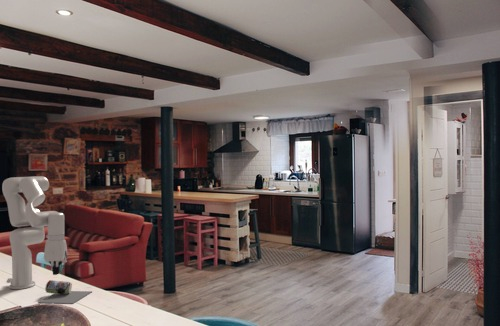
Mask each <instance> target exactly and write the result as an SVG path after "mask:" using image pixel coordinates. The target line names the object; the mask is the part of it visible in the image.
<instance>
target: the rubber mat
mask: <svg viewBox="0 0 500 326" xmlns="http://www.w3.org/2000/svg"><path fill="white" fill-rule="evenodd" d="M92 293H93V291H90V290H89V291H86V290H83V291H81V290H71V292H70V293H68V294H57V293H52V294H51V295H49V296H47V297H45V298H43V299H42V300H40V301H37V304H52V303H54V304H60V305H61V304H62V305H63V304H65V305H66V304H67V305H74V304H75V303H77V302H79V301H80V300H82V299H84V298H85V297H87V296H88V295H90V294H92Z"/></svg>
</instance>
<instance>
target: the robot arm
mask: <svg viewBox="0 0 500 326" xmlns="http://www.w3.org/2000/svg"><path fill="white" fill-rule="evenodd" d="M1 185H2V186H1V187H2V188H1V189H2V194H3V197H4V198H5V201H6V204H7V209H8V210H7V211H8V217H9V222H10V224H11V226H12V227H16V228H17V227H23V228H17V229H14V230H12V231H10V234H9V243H10V249H11V272H12V273H11V275H12V277H11V278H7V279H6V282H5V283H7V284H9V283H10V285H8V287H9V289H11V290H23V289H28V288H29V289H30V288H32V287H34V286H35V285H36V282H35V280H33V259H32V258H33V257H32V256H33V254H32V251H31V249H30V248H28V246H30V245H36V244H41V243H42V242H44V240H45V238H46V241H45V245H44V251H43V252H44V254H43V257H44V258H43V260H45V263H48V264H49V265H51V267H52V275H53V276H56V275H59V274H60V272H61V265H63V264H66V263H67V262H68V260H67V259H68V247H67V246H68V245H67V241H66V239H65V214H64V213H63V212H58V211H56V210H47V211H40V209H38V208H37V207H38V206H39V205H41V204H42V203H43V202H44V201H45V199H46V195H45V193H44V192H46V191H48V190H49V189H50V188H49V187H50V182H49V180H48V178H47V177H45V176H44V175H39V176H38V175H36V176H35V175H33V176H16V177H15V176H14V177H9V178H6V179H4V180H3V182H2V184H1ZM19 193H23V196H24V197H25V198H26V201H27V203H26V201H25V199H24V197H22V195H20V194H19ZM27 226H30V227H27ZM45 227H47V234H46V235H45Z"/></svg>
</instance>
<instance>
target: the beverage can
mask: <svg viewBox="0 0 500 326" xmlns="http://www.w3.org/2000/svg"><path fill="white" fill-rule="evenodd" d="M72 287H73V283H72V282H69V281H63V280H62V281H61V280H48V281H47V282H46V284H45V288H44V289H45V292H46V293H47V294H54V293H57V294H68V293H70V292H71V291H72Z"/></svg>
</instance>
